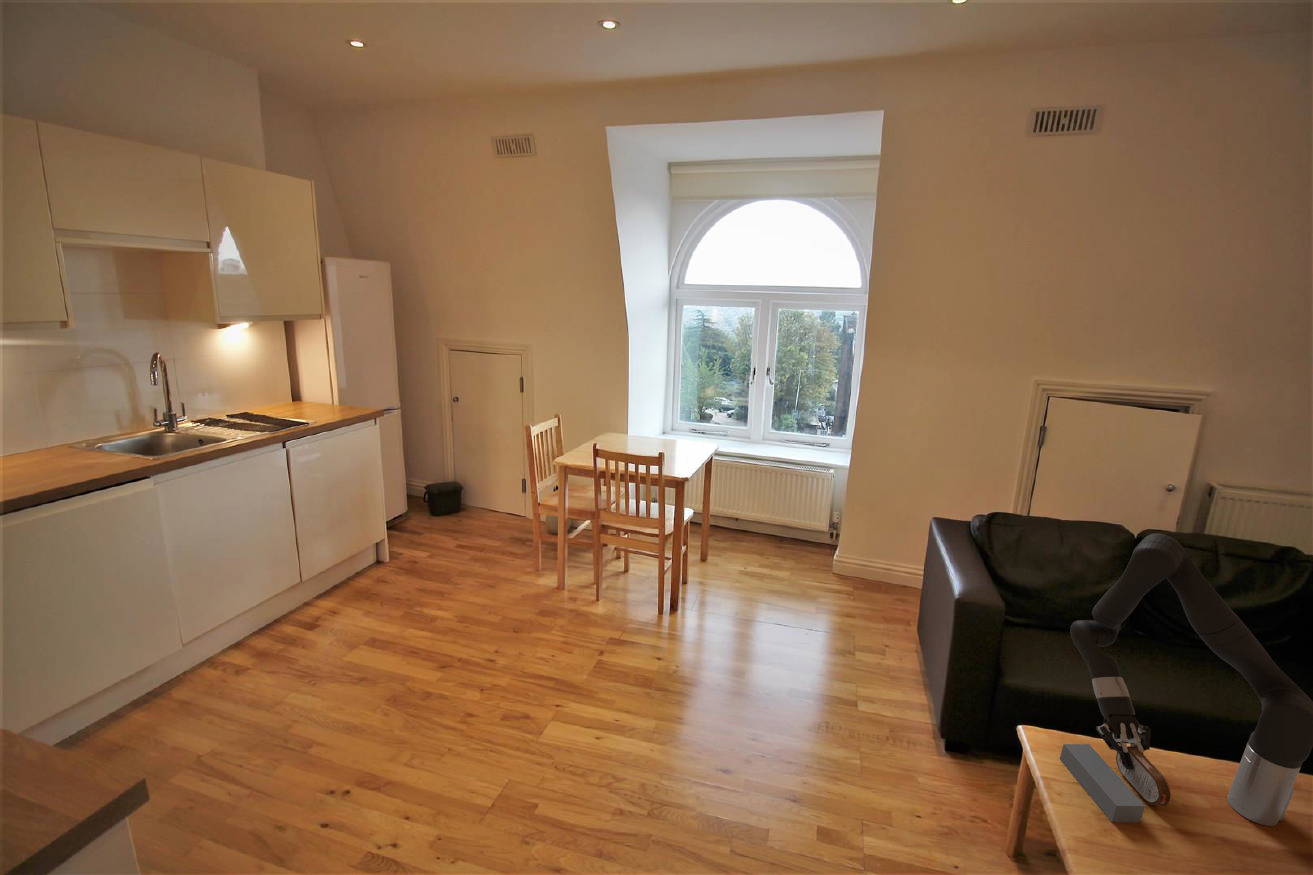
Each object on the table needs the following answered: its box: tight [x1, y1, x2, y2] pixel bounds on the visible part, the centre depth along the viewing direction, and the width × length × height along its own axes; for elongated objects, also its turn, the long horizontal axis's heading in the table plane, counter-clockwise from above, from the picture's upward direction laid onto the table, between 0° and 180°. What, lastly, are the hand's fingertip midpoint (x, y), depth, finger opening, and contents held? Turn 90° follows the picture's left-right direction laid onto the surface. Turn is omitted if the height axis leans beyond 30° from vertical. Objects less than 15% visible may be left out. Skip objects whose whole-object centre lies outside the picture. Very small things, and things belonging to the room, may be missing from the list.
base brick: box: [1059, 743, 1146, 823], centre depth 154 cm, size 7×19×5 cm, turn 1°
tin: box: [1115, 746, 1172, 807], centre depth 154 cm, size 15×3×8 cm, turn 0°
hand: (1136, 768), depth 155 cm, fingers open, 2 cm apart
